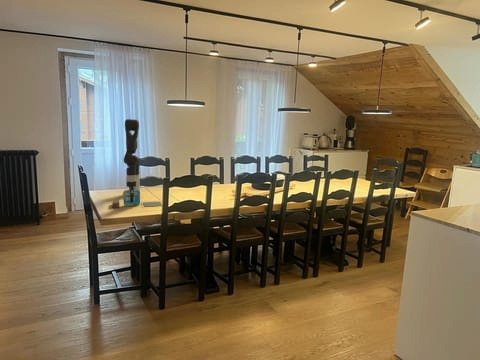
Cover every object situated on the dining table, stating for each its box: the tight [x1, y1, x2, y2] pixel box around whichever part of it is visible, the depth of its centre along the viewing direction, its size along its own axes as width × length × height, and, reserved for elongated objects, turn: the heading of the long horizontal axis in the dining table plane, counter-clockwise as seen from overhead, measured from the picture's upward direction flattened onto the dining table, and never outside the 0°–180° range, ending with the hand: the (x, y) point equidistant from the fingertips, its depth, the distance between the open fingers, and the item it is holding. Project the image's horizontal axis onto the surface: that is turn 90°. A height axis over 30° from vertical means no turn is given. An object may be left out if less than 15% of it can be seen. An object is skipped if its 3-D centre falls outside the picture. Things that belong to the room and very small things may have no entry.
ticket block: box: [112, 198, 120, 209], centre depth 287 cm, size 12×5×4 cm, turn 19°
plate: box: [140, 200, 163, 208], centre depth 296 cm, size 14×16×1 cm
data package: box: [122, 189, 141, 207], centre depth 290 cm, size 12×4×12 cm, turn 123°
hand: (131, 201), depth 291 cm, fingers closed on data package, 5 cm apart
